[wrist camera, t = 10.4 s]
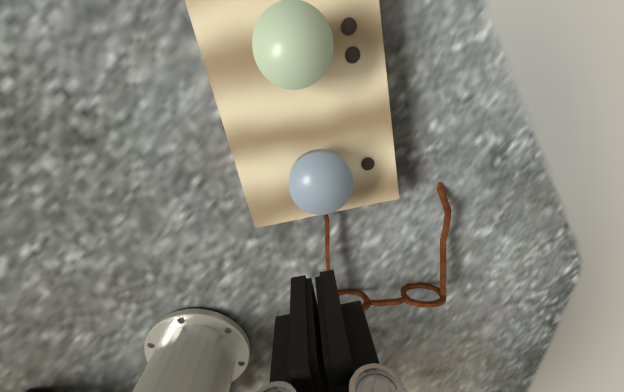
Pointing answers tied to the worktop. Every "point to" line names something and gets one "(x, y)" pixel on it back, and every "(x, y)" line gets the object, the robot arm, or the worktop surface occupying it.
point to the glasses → (404, 289)
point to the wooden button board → (300, 104)
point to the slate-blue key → (320, 182)
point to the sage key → (292, 44)
